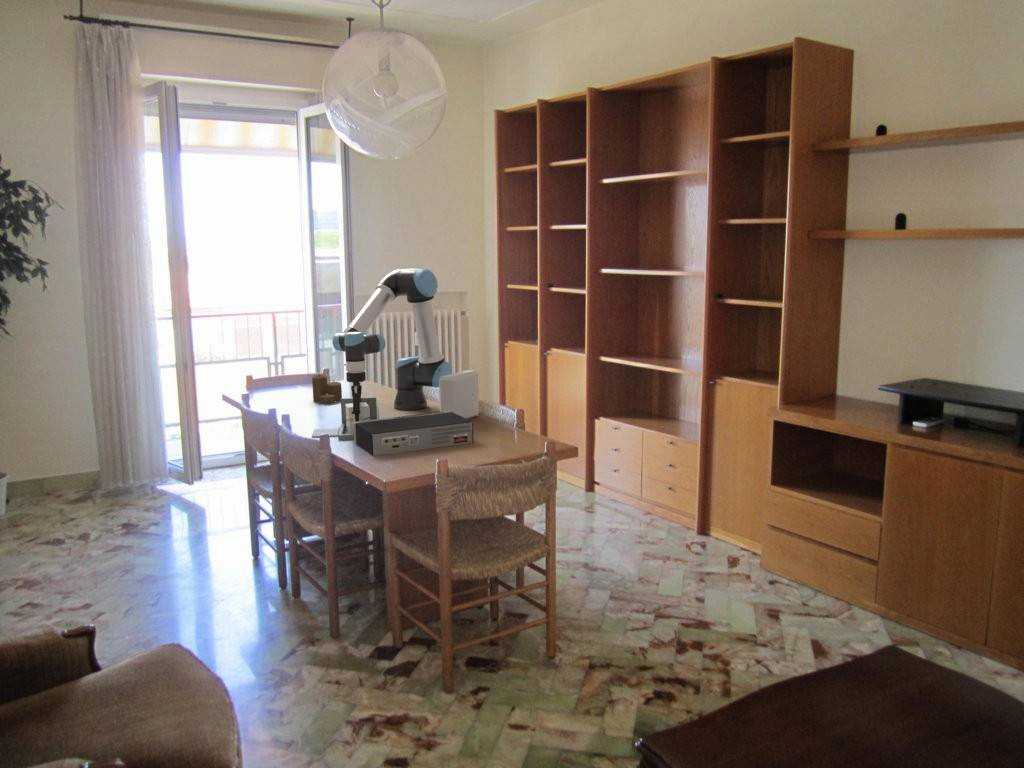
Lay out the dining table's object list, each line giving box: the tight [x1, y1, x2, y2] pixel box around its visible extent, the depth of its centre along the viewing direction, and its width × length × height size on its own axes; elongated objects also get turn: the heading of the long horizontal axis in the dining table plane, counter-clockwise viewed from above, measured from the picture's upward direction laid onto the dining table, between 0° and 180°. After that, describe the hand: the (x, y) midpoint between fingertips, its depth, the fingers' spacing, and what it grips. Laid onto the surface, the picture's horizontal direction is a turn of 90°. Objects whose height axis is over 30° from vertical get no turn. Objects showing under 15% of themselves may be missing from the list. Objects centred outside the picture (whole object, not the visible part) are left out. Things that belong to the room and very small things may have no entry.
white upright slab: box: [438, 369, 480, 420], centre depth 355 cm, size 21×8×20 cm, turn 149°
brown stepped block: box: [311, 370, 343, 405], centre depth 399 cm, size 14×14×15 cm
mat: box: [311, 427, 340, 438], centre depth 334 cm, size 10×12×1 cm
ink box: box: [345, 402, 370, 434], centre depth 333 cm, size 9×8×12 cm
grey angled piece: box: [337, 396, 380, 441], centre depth 334 cm, size 16×24×12 cm, turn 8°
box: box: [353, 411, 474, 457], centre depth 318 cm, size 40×25×9 cm, turn 117°
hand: (358, 426), depth 334 cm, fingers closed on ink box, 9 cm apart
